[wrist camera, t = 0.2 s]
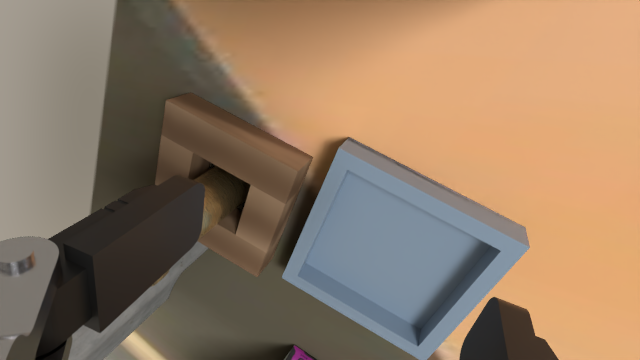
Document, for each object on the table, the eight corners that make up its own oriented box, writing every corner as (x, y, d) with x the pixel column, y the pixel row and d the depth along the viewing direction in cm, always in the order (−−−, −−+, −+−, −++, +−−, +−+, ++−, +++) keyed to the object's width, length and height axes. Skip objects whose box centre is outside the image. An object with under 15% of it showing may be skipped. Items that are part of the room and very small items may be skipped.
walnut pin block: (190, 92, 31) (165, 100, 29) (313, 157, 30) (297, 171, 27) (172, 199, 38) (150, 213, 35) (272, 257, 36) (257, 277, 33)
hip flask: (163, 303, 46) (-19, 476, 29) (139, 281, 46) (-57, 441, 29) (219, 236, 37) (6, 426, 20) (189, 209, 37) (-48, 377, 20)
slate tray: (349, 137, 28) (338, 147, 26) (525, 227, 26) (529, 247, 24) (293, 261, 35) (281, 277, 33) (427, 339, 33) (424, 362, 31)
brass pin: (217, 146, 33) (102, 210, 23) (263, 171, 32) (165, 249, 22) (208, 188, 35) (100, 262, 25) (250, 212, 34) (156, 299, 24)
